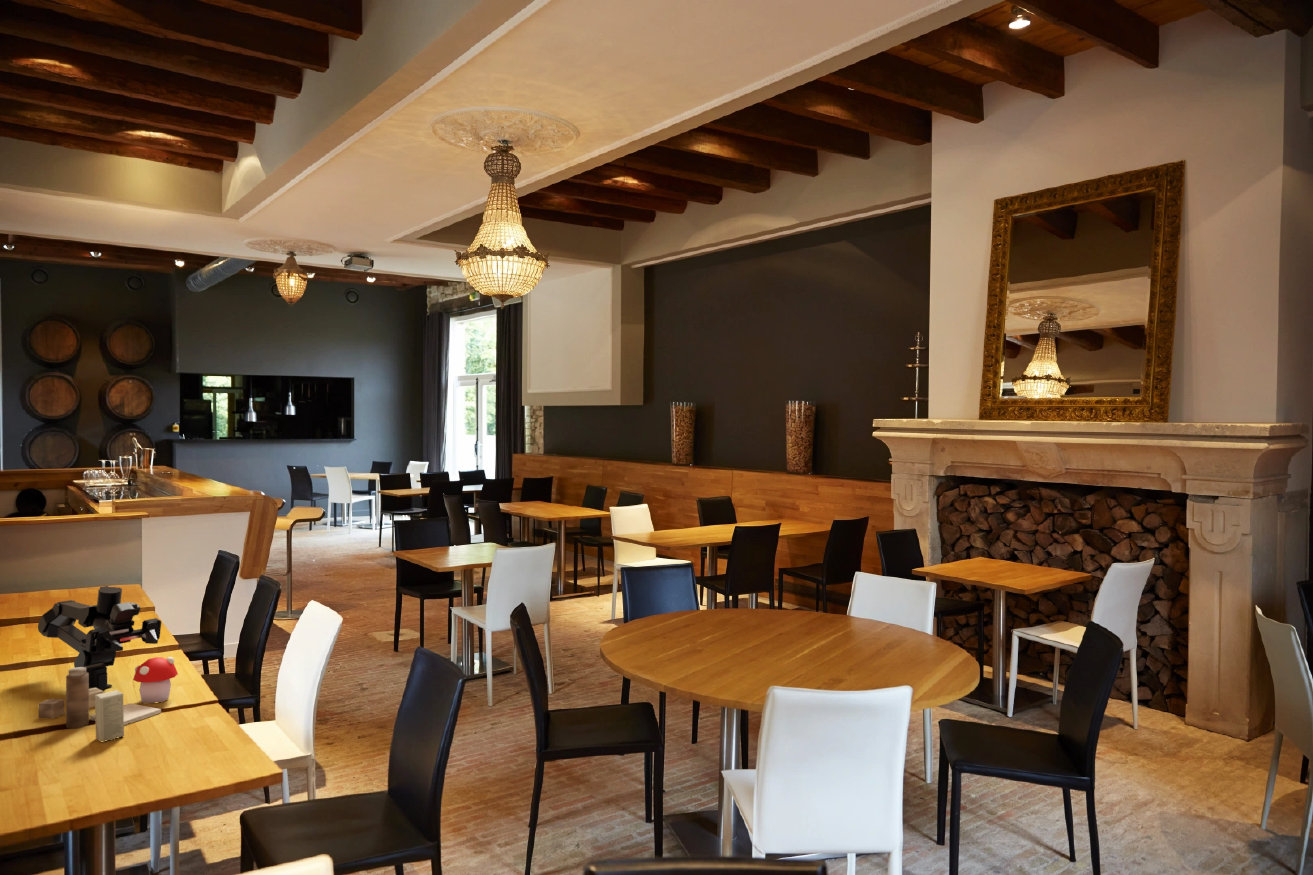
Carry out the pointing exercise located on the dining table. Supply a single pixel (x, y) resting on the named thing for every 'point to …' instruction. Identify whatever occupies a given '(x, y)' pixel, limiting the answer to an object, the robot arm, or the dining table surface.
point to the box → (109, 715)
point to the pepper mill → (77, 698)
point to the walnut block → (51, 708)
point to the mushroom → (155, 679)
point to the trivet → (135, 713)
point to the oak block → (93, 696)
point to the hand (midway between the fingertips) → (139, 645)
